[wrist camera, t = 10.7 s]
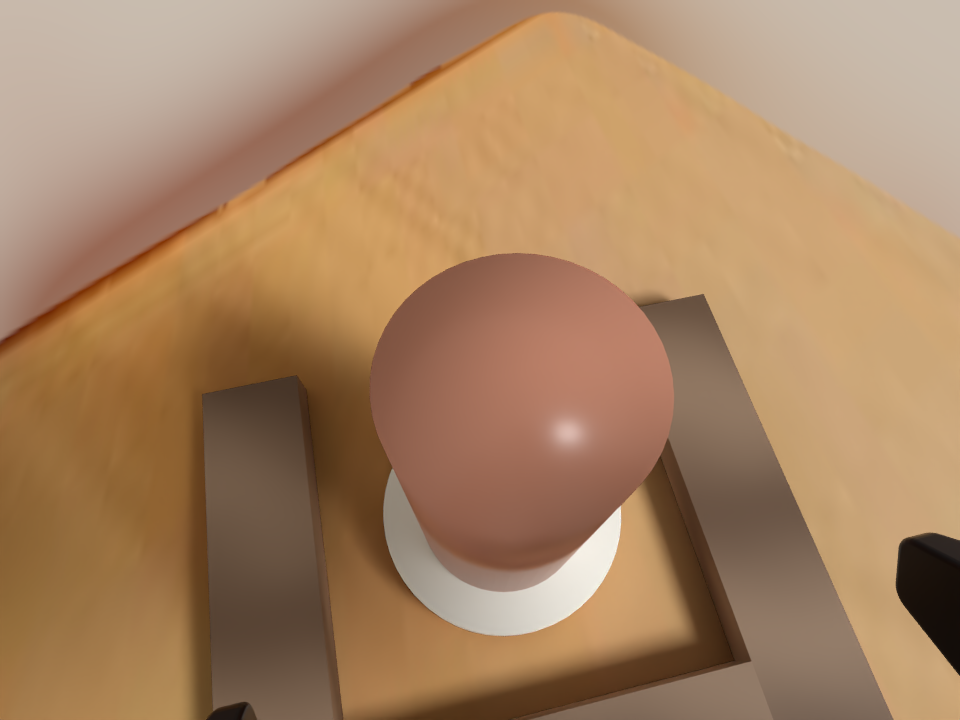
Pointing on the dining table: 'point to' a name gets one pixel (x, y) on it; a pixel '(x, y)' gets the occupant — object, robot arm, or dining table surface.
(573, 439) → the knob
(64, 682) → the dining table surface
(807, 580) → the notched board
